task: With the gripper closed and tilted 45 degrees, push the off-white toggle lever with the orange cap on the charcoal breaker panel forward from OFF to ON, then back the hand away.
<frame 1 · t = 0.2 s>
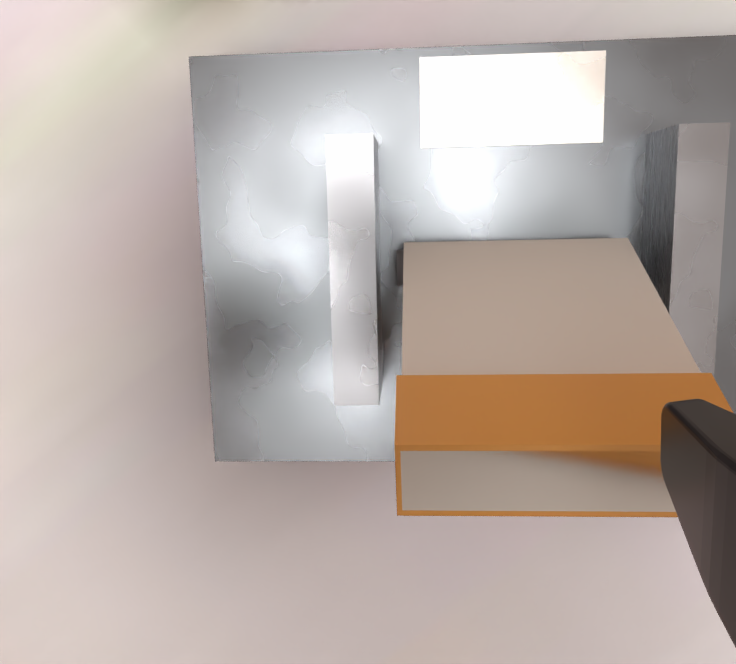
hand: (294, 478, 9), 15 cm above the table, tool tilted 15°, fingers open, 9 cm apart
breaker panel: (496, 256, 23), on the table
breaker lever: (531, 345, 16), point 7 cm above the table, hinge at -25.0°
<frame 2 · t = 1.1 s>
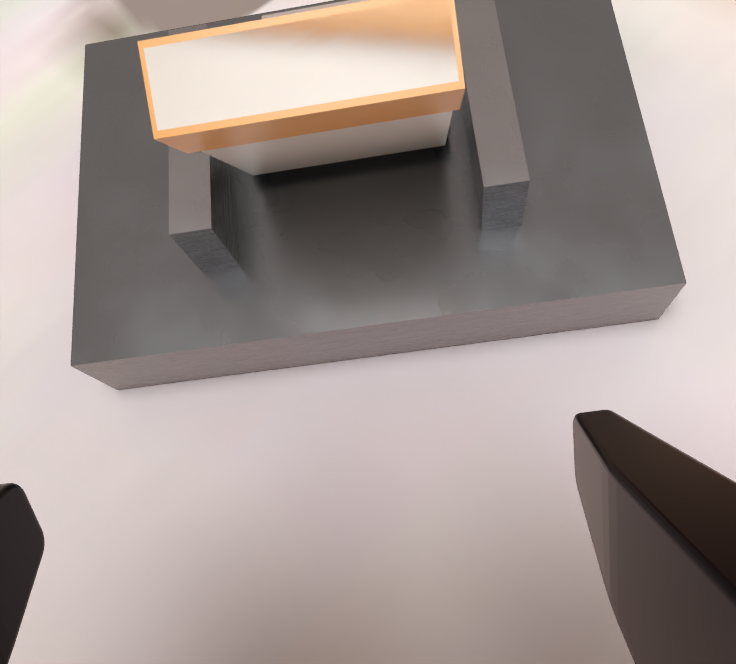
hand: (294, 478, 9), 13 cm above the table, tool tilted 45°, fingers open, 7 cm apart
breaker panel: (361, 196, 25), on the table
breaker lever: (328, 109, 18), point 7 cm above the table, hinge at -25.0°
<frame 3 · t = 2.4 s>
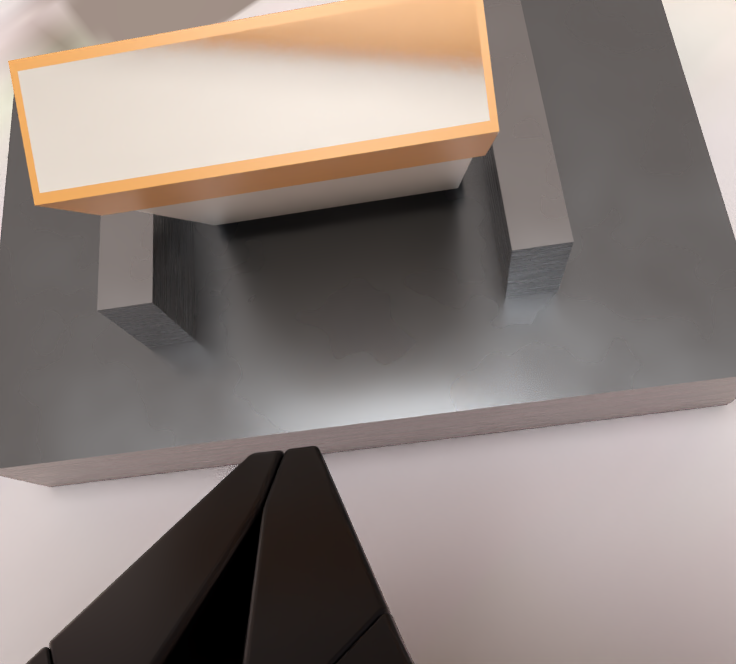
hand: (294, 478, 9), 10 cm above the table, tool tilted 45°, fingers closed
breaker panel: (353, 244, 21), on the table
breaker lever: (303, 148, 13), point 7 cm above the table, hinge at -25.0°
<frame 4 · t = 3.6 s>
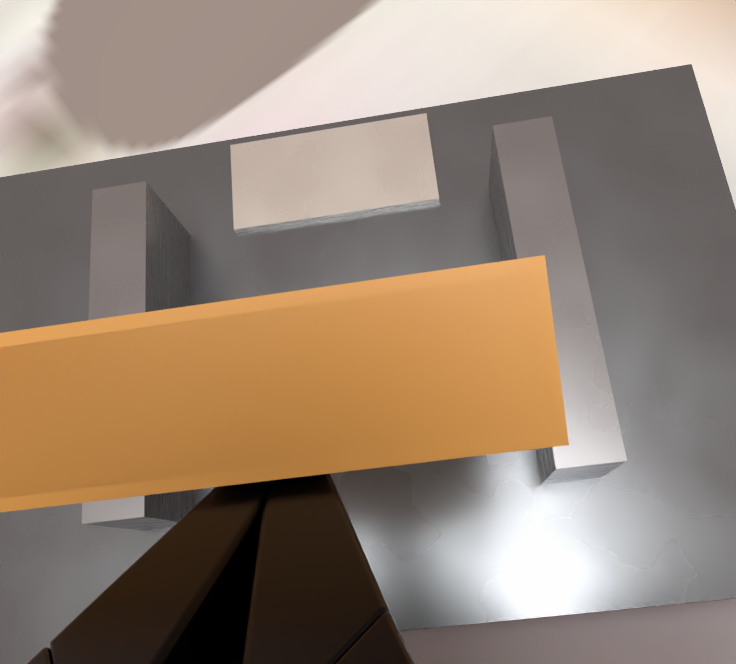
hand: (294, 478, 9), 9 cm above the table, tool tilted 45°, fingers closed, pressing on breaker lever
breaker panel: (366, 380, 19), on the table
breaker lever: (316, 352, 11), point 7 cm above the table, hinge at -22.0°, touching gripper
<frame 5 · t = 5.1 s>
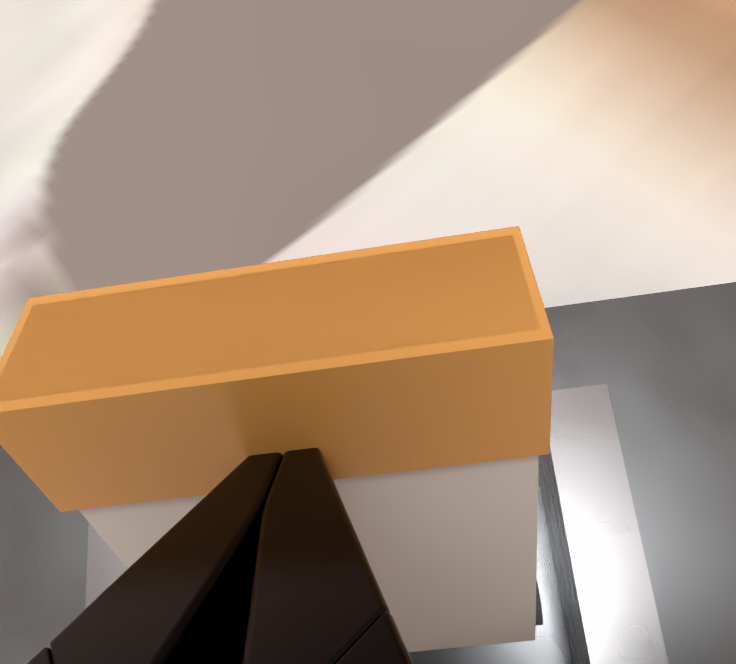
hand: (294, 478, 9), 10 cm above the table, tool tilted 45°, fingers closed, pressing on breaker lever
breaker panel: (389, 605, 17), on the table
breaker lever: (332, 511, 11), point 7 cm above the table, hinge at 25.8°, touching gripper
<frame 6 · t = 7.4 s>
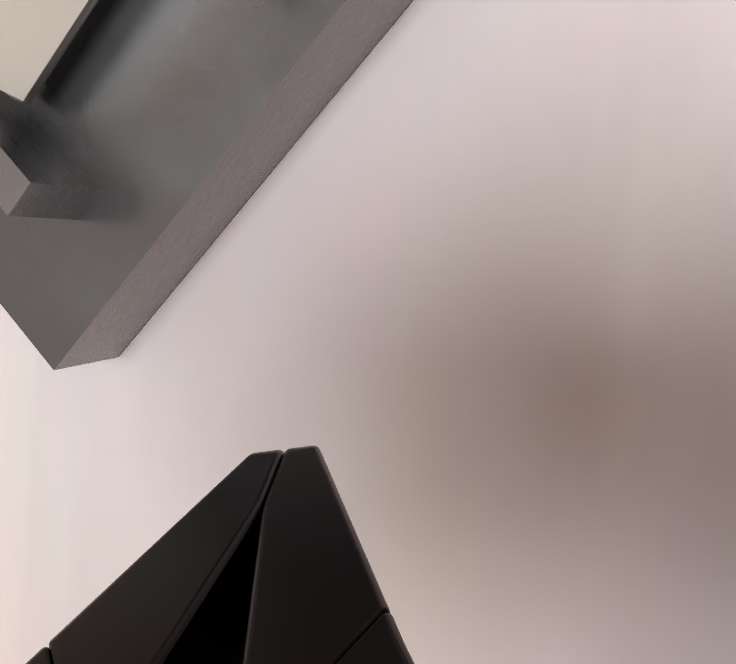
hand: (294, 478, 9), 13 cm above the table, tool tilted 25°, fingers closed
breaker panel: (157, 40, 23), on the table
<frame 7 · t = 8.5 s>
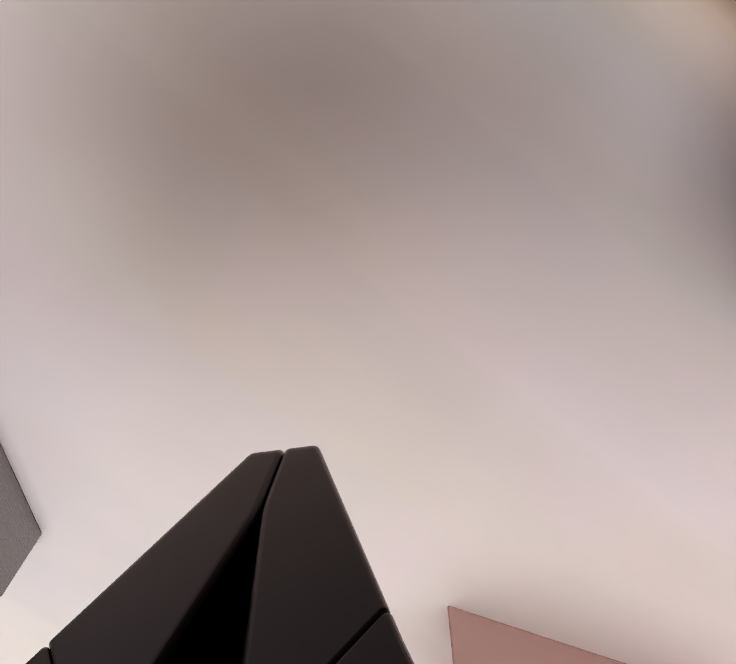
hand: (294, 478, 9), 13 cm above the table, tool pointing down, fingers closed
pink box: (577, 663, 29), on the table
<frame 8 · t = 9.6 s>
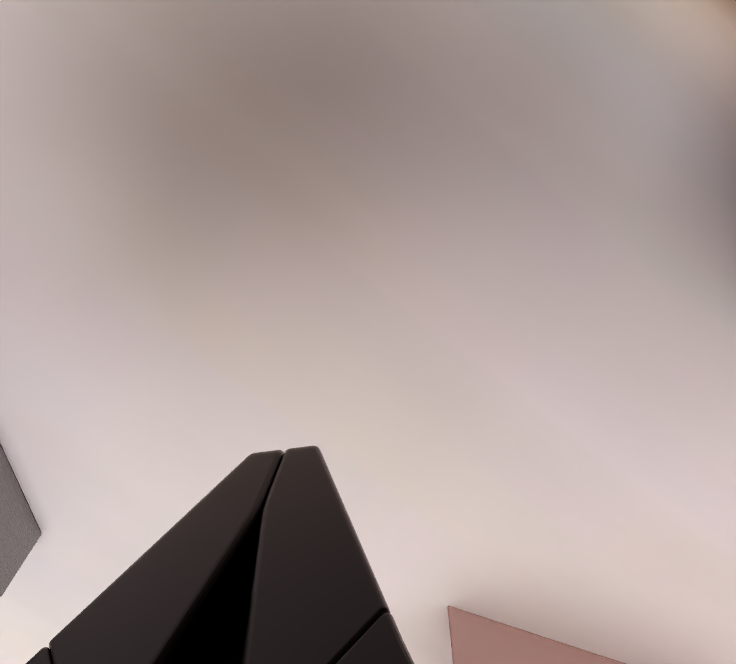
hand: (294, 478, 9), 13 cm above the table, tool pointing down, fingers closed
pink box: (577, 663, 29), on the table
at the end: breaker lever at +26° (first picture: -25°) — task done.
